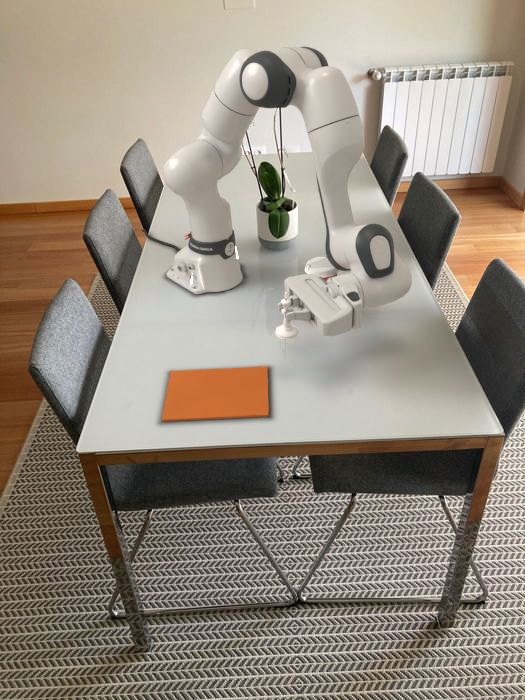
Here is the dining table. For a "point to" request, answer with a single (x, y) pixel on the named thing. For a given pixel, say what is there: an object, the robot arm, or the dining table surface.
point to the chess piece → (286, 323)
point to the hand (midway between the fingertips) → (282, 312)
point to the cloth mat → (217, 394)
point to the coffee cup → (321, 268)
